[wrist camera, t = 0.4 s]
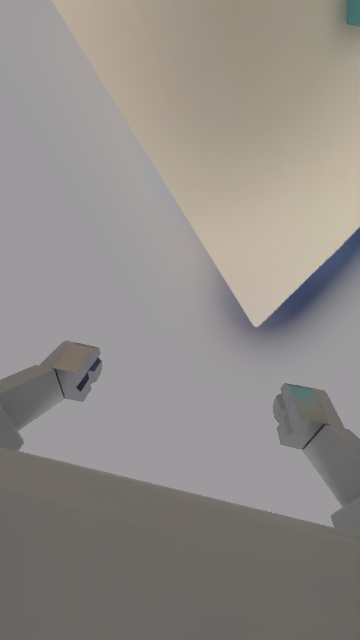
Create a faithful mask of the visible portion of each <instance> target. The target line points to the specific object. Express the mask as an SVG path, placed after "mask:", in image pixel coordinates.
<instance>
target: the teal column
mask: <svg viewBox="0 0 360 640" xmlns="http://www.w3.org/2000/svg"><path fill="white" fill-rule="evenodd" d="M347 24H352V25H356V26H360V0H348V5H347Z"/></svg>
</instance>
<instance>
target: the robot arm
mask: <svg viewBox="0 0 360 640" xmlns="http://www.w3.org/2000/svg"><path fill="white" fill-rule="evenodd" d="M99 355H100V349H99V348H97V347H94V346H90V345H85V344H80V343H75V342H70V341H64V342H62V343H61V344H60V345H59V346H58V347H57V348H56V349H55V350H54V351H53V352H52V353H51V354H50V355H49V356H48V357H47V358H46V359H45V360H44V361H43V362H42V363H41V364H40V365H39V366H38V365H35V366H32V367H30V368H27V369H25V370H22V371H20V372H18V373H15V374H13V375H11V376H8V377H6V378H3V379H1V380H0V640H360V439H359V438H358V437H357V436H356V435H355V434H354V433H353V432H351V431H350V430H349V429H345V428H344V426H343V424H342V422H341V420H340V418H339V416H338V414H337V412H336V410H335V408H334V406H333V404H332V403H331V400H330V398H329V397H328V394H327V393H326V392H325V391H324V390H319V389H314V388H309V387H303V386H298V385H292V384H287V383H285V384H284V385H283V386H282V387H281V392H282V393H281V394H279V395H277V396H276V398H275V400H274V405H273V413H274V417H275V419H276V420H277V421H278V422H279V426H278V427H277V431H278V434H279V439H280V443H281V445H285V446H289V447H293V448H297V449H302V450H303V452H304V454H305V455H306V456H307V458H308V459H309V460H310V462H311V463H312V465H313V466H314V468H315V469H316V470H317V472H318V473H319V474H320V476H321V477H322V479H323V480H324V481H325V482H326V484H327V486H328V487H329V488H330V490H331V491H332V493H333V494H334V495H335V497H336V498H337V500H338V501H339V502H340V504H341V505H342V506H343V507H342V508H341V509H339V510H338V511H336V512H334V513H333V514H332V516H331V518H332V521H333V525H334V528H333V527H329V526H325V525H320V524H317V523H313V522H308V521H304V520H300V519H296V518H292V517H288V516H284V515H279V514H276V513H272V512H267V511H263V510H259V509H255V508H251V507H247V506H242V505H238V504H235V503H230V502H226V501H222V500H218V499H214V498H210V497H205V496H202V495H197V494H193V493H189V492H185V491H181V490H176V489H173V488H168V487H164V486H160V485H156V484H152V483H148V482H144V481H140V480H136V479H131V478H127V477H123V476H119V475H115V474H111V473H107V472H103V471H99V470H94V469H90V468H86V467H82V466H77V465H74V464H70V463H65V462H61V461H57V460H53V459H49V458H45V457H41V456H37V455H32V454H29V453H24V452H20V451H18V450H19V449H20V448H21V446H22V445H23V444H24V443H23V438H22V437H21V435H20V434H19V432H18V431H19V430H20V429H22V428H23V427H24V426H26V425H27V424H29V423H30V422H32V421H33V420H34V419H36V418H38V417H39V416H41V415H42V414H43V413H45V412H46V411H48V410H49V409H51V408H52V407H54V406H55V405H56V404H58V403H60V402H61V401H63V400H64V398H66V399H71V400H77V401H82V402H83V401H84V400H85V398H86V396H87V395H88V393H89V392H90V390H91V385H90V384H92V383H94V382H95V381H97V379H98V377H99V375H100V372H101V370H102V361H101V360H100V359H99V358H98V356H99Z"/></svg>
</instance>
